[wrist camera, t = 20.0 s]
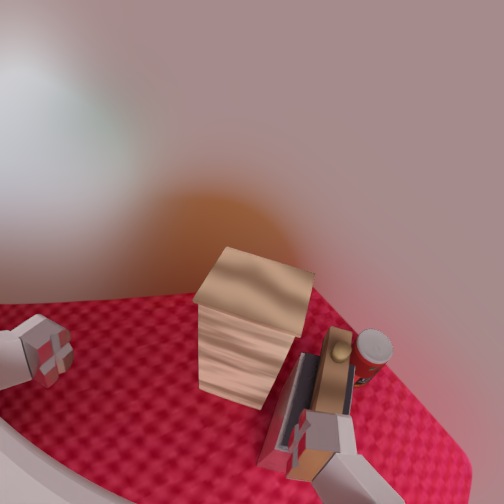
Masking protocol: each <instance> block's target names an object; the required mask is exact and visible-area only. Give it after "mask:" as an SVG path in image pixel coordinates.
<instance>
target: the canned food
mask: <svg viewBox="0 0 504 504" xmlns="http://www.w3.org/2000/svg"><path fill="white" fill-rule="evenodd" d="M351 348H352V351H351V353H350V360H349V364H351V365H355V375H354V384H353V387H361V386H364V385H366V384H367V383H368V382H369V381H370V380H371V379H372V378H373V377H374V376H375V375H376V374H377V372H378V371H379V370H380V369H381V368H382V367H383V366H384V365H385V364H386V363H387V361H388V360H389V359H390V358H391V356H392V353H393V347H392V344H391V342H390V340H389V338H388V337H387V336H386V335H385V334H383V333H382V332H380V331H378V330H375V329H366V330H364V331H362V332H361V333H360V334H359V336H358V337H357V338H356V340H355V341H354V343H353V344H352V346H351Z"/></svg>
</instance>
